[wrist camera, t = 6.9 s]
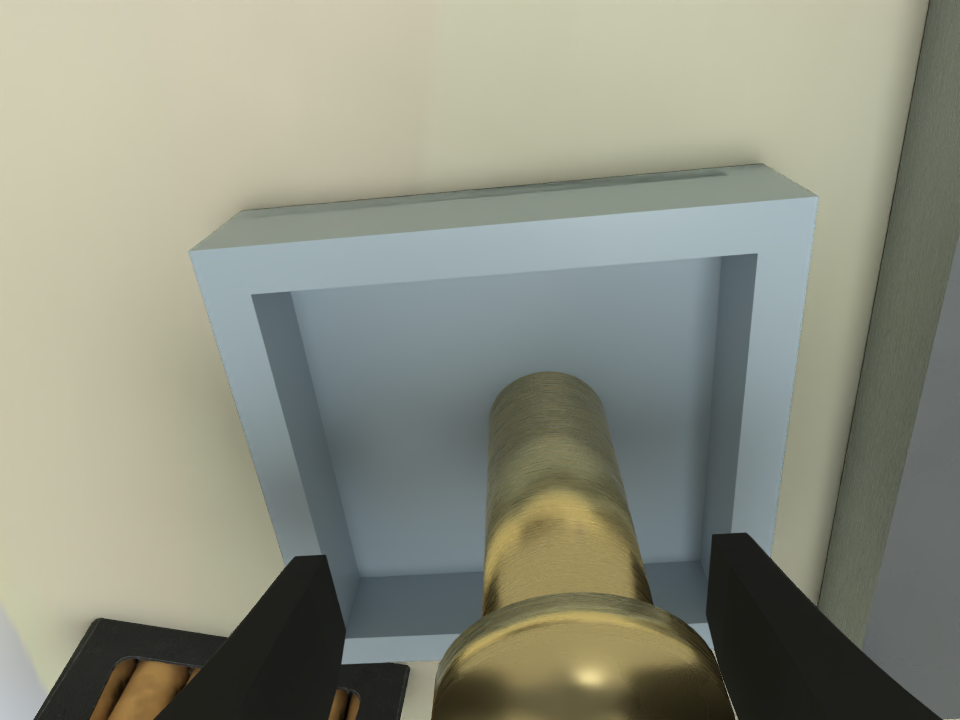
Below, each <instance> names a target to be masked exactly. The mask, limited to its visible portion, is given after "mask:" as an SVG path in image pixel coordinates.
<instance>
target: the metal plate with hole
mask: <svg viewBox="0 0 960 720" xmlns="http://www.w3.org/2000/svg"><path fill="white" fill-rule="evenodd" d="M818 609H819V610H820V611H821V612H822V613H823V614H824V615H825V616H826V617H827V618H828V619H829V620H830V621H831V622H832V623H833V624H834V625H835V626H836V627H837V628H838V629H839V630H840V631H841V632H842V633H843V634H844V635H845V636H847V637H848V638H849V639H850V640H851V641H852V642H853V643H854V644H855V645H856V646H857V647H858V648H859V649H860V650H861V651H863V652H864V653H865V654H866V655H867V656H868V657H869V658H870V659H871V660H872V661H874V662H875V663H876V664H877V665H878V666H879V667H880V668H881V669H882V670H884V671H885V672H886V673H887V674H888V675H889V676H890V677H892V678H893V679H894V680H895V681H896V682H897V683H899V684H900V685H901V686H902V687H903V688H904V689H906V690H907V691H908V692H909V693H910V694H912V695H913V696H914V697H915V698H917V699H918V700H919V701H920V702H921V703H923V704H924V705H925V706H926V707H928V708H929V709H930V710H931V711H933V712H934V713H935V714H936V715H938V716H939V717H940V718H941V719H958V718H960V0H930V5H929V10H928V16H927V21H926V27H925V32H924V37H923V43H922V48H921V54H920V59H919V64H918V70H917V75H916V81H915V86H914V91H913V97H912V102H911V108H910V113H909V118H908V124H907V129H906V135H905V140H904V145H903V151H902V156H901V162H900V167H899V172H898V178H897V183H896V189H895V194H894V199H893V205H892V210H891V216H890V221H889V226H888V232H887V237H886V243H885V248H884V253H883V259H882V264H881V270H880V275H879V281H878V286H877V291H876V297H875V302H874V308H873V313H872V318H871V324H870V329H869V335H868V340H867V345H866V351H865V356H864V362H863V367H862V372H861V378H860V383H859V389H858V394H857V399H856V405H855V410H854V416H853V421H852V426H851V432H850V437H849V443H848V448H847V453H846V459H845V464H844V470H843V475H842V480H841V486H840V491H839V497H838V502H837V507H836V513H835V518H834V524H833V529H832V534H831V540H830V545H829V551H828V556H827V561H826V567H825V572H824V578H823V583H822V588H821V594H820V599H819V605H818Z"/></svg>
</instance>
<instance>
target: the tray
mask: <svg viewBox="0 0 960 720" xmlns="http://www.w3.org/2000/svg"><path fill="white" fill-rule="evenodd" d="M818 199H819V196H817V195H816V194H814V193H812V192H810V191H809V190H807V189H805V188H804V187H802V186H800V185H799V184H797V183H795V182H793V181H792V180H790V179H788V178H787V177H785V176H783V175H781V174H780V173H778V172H776V171H775V170H773V169H771V168H769V167H768V166H766V165H764V164H752V165H741V166H730V167H719V168H708V169H697V170H686V171H675V172H664V173H653V174H642V175H631V176H620V177H609V178H598V179H587V180H576V181H565V182H554V183H543V184H532V185H521V186H510V187H499V188H488V189H477V190H466V191H455V192H444V193H433V194H422V195H411V196H400V197H389V198H378V199H367V200H356V201H345V202H334V203H323V204H312V205H301V206H290V207H279V208H268V209H257V210H246V211H241V212H239V213H238V214H237V215H235V216H234V217H233V218H231V219H230V220H229V221H227V222H226V223H225V224H224V225H222V226H221V227H220V228H218V229H217V230H216V231H214V232H213V233H212V234H210V235H209V236H208V237H206V238H205V239H204V240H203V241H201V242H200V243H199V244H197V245H196V246H195V247H193V248H192V249H191V250H189V255H190V258H191V261H192V264H193V268H194V271H195V274H196V277H197V281H198V284H199V287H200V290H201V294H202V297H203V300H204V303H205V307H206V310H207V313H208V316H209V320H210V323H211V326H212V329H213V333H214V336H215V339H216V342H217V346H218V349H219V352H220V355H221V359H222V362H223V365H224V368H225V372H226V375H227V378H228V381H229V385H230V388H231V391H232V394H233V398H234V401H235V404H236V407H237V411H238V414H239V417H240V420H241V424H242V427H243V430H244V433H245V437H246V440H247V443H248V446H249V450H250V453H251V456H252V459H253V463H254V466H255V469H256V472H257V476H258V479H259V482H260V485H261V489H262V492H263V495H264V498H265V502H266V505H267V508H268V511H269V515H270V518H271V521H272V524H273V528H274V531H275V534H276V537H277V540H278V544H279V547H280V550H281V553H282V557H283V560H284V563H285V566H287V565H288V563H289V562H290V561H291V560H292V559H293V558H294V557H295V556H308V555H326V557H327V560H328V564H329V568H330V572H331V575H332V579H333V583H334V586H335V590H336V594H337V598H338V601H339V605H340V609H341V613H342V616H343V620H344V624H345V627H346V636H345V643H344V650H343V656H342V663H341V664H361V663H386V662H410V661H435V660H442V658H443V656H444V654H445V652H446V651H447V649H448V648H449V647H450V645H451V644H452V643H453V641H454V640H455V639H456V638H457V637H458V636H459V635H460V634H461V633H462V632H463V631H464V630H465V629H467V628H468V627H469V626H471V625H472V624H474V623H475V622H476V621H478V620H479V619H481V618H482V605H483V576H484V548H485V519H486V491H487V463H488V434H489V416H490V411H491V407H492V405H493V403H494V401H495V399H496V398H497V396H498V395H499V394H500V392H501V391H502V390H503V389H504V388H505V387H506V386H508V385H509V384H510V383H512V382H513V381H515V380H517V379H519V378H520V377H523V376H526V375H528V374H532V373H537V372H547V371H552V372H561V373H565V374H569V375H572V376H575V377H577V378H579V379H581V380H582V381H584V382H585V383H587V384H588V385H589V386H590V387H591V388H592V389H593V390H594V391H595V392H596V393H597V395H598V396H599V398H600V399H601V402H602V404H603V407H604V410H605V414H606V418H607V422H608V426H609V430H610V434H611V438H612V442H613V446H614V450H615V454H616V458H617V462H618V466H619V470H620V473H621V477H622V481H623V485H624V489H625V493H626V497H627V501H628V505H629V509H630V513H631V517H632V521H633V525H634V529H635V533H636V537H637V541H638V544H639V548H640V552H641V556H642V560H643V564H644V568H645V572H646V576H647V580H648V584H649V588H650V592H651V596H652V600H653V604H654V606H656V607H659V608H661V609H663V610H666V611H668V612H669V613H671V614H673V615H674V616H676V617H678V618H680V619H681V620H683V621H684V622H685V623H686V624H688V625H689V626H690V627H692V628H693V629H694V630H695V631H696V632H697V633H698V634H699V635H700V636H701V637H702V638H703V639H704V640H705V642H706V643H707V645H708V646H709V648H710V649H714V646H713V642H712V638H711V634H710V630H709V626H708V622H707V618H706V604H707V592H708V579H709V566H710V554H711V541H712V534H725V533H744V532H746V533H748V534H749V535H750V536H751V537H752V538H753V539H754V540H755V541H756V542H757V544H758V545H759V546H760V547H761V548H762V549H763V550H764V551H765V553H766V554H767V555H768V556H769V557H770V558H771V550H772V543H773V535H774V528H775V520H776V513H777V505H778V498H779V490H780V483H781V476H782V468H783V461H784V453H785V446H786V438H787V431H788V423H789V416H790V408H791V401H792V393H793V386H794V378H795V371H796V363H797V356H798V348H799V341H800V333H801V326H802V319H803V311H804V304H805V296H806V289H807V281H808V274H809V266H810V259H811V251H812V244H813V236H814V229H815V221H816V214H817V206H818Z"/></svg>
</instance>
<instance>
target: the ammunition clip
mask: <svg viewBox="0 0 960 720" xmlns="http://www.w3.org/2000/svg"><path fill="white" fill-rule="evenodd" d="M227 639H228V638H227V637H221V636H214V635H208V634H201V633H195V632H188V631H182V630H175V629H169V628H162V627H156V626H149V625H143V624H136V623H130V622H124V621H117V620H111V619H104V618H100V619H98V620H96V621H94V622H92V624H91V625H90V627H89V629H88V630H87V632H86V634H85V635H84V637H83V639H82V640H81V642H80V644H79V645H78V647H77V648H76V650H75V652H74V653H73V655H72V657H71V658H70V660H69V662H68V663H67V665H66V667H65V668H64V670H63V672H62V673H61V675H60V677H59V678H58V680H57V682H56V683H55V685H54V687H53V688H52V690H51V691H50V693H49V695H48V696H47V698H46V700H45V701H44V703H43V705H42V706H41V708H40V710H39V711H38V713H37V715H36V716H35V718H34V720H153V719H154V718H155V717H156V716H157V715H158V714H159V713H160V712H161V711H162V710H163V709H164V708H165V707H166V706H167V705H168V704H169V703H170V702H171V701H172V700H173V699H174V698H175V697H176V696H177V695H178V694H179V692H180V691H181V690H182V689H183V688H184V687H185V686H186V685H187V684H188V683H189V682H190V680H191V679H192V678H193V677H194V676H195V675H196V674H197V673H198V672H199V671H200V669H201V668H202V667H203V666H204V665H205V664H206V663H207V662H208V661H209V660H210V658H211V657H212V656H213V655H214V654H215V653H216V652H217V651H218V649H219V648H220V647H221V646H222V645H223V643H224V642H225V641H226V640H227ZM409 672H410V669H409V667H408V665H402V664H396V663H389V662H386V663H361V664H341V669H340V675H339V681H338V686H337V690H336V694H335V697H334V701H333V705H332V708H331V712H330V716H329V719H328V720H400V717H401V712H402V707H403V702H404V697H405V692H406V687H407V682H408V677H409Z"/></svg>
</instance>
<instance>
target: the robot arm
mask: <svg viewBox="0 0 960 720" xmlns="http://www.w3.org/2000/svg"><path fill="white" fill-rule="evenodd" d="M706 618H707V622H708V626H709V630H710V634H711V638H712V642H713V646H714V650H715V654H716V657H717V661H718V665H719V669H720V672H721V674H722V677H723V680H724V683H725V685H726V688H727V691H728V693H729V696H730V699H731V701H732V704H733V706H734V709H735V712H736V714H737V717H738V720H943V719H941V718H940V717H939V716H938V715H936V714H935V713H934V712H933V711H931V710H930V709H929V708H928V707H926V706H925V705H924V704H923V703H921V702H920V701H919V700H918V699H917V698H915V697H914V696H913V695H912V694H910V693H909V692H908V691H907V690H906V689H904V688H903V687H902V686H901V685H900V684H899V683H897V682H896V681H895V680H894V679H893V678H892V677H890V676H889V675H888V674H887V673H886V672H885V671H884V670H882V669H881V668H880V667H879V666H878V665H877V664H876V663H875V662H874V661H872V660H871V659H870V658H869V657H868V656H867V655H866V654H865V653H864V652H863V651H861V650H860V649H859V648H858V647H857V646H856V645H855V644H854V643H853V642H852V641H851V640H850V639H849V638H848V637H847V636H845V635H844V634H843V633H842V632H841V631H840V630H839V629H838V628H837V627H836V626H835V625H834V624H833V623H832V622H831V621H830V620H829V619H828V618H827V617H826V616H825V615H824V614H823V613H822V612H821V611H820V610H819V609H818V608H817V607H816V606H815V605H814V604H813V603H812V602H811V601H810V600H809V599H808V598H807V597H806V596H805V595H804V594H803V593H802V592H801V590H800V589H799V588H798V587H797V586H796V585H795V584H794V583H793V582H792V581H791V580H790V579H789V578H788V577H787V576H786V575H785V573H784V572H783V571H782V570H781V569H780V568H779V567H778V566H777V565H776V564H775V563H774V561H773V560H772V559H771V558H770V557H769V556H768V555H767V554H766V553H765V551H764V550H763V549H762V548H761V547H760V546H759V545H758V544H757V542H756V541H755V540H754V539H753V538H752V537H751V536H750V535H749V534H748V533H746V532H744V533H725V534H712V541H711V554H710V566H709V579H708V592H707V604H706ZM345 636H346V627H345V624H344V620H343V616H342V613H341V609H340V605H339V601H338V598H337V594H336V590H335V586H334V583H333V579H332V575H331V572H330V568H329V564H328V560H327V557H326V555H308V556H295V557H294V558H293V559H292V560H291V561H290V562H289V563H288V565H287V566H286V567H285V568H284V570H283V571H282V572H281V573H280V575H279V576H278V577H277V578H276V580H275V581H274V582H273V583H272V585H271V586H270V587H269V589H268V590H267V591H266V592H265V594H264V595H263V596H262V597H261V599H260V600H259V601H258V602H257V604H256V605H255V606H254V607H253V609H252V610H251V611H250V612H249V614H248V615H247V616H246V617H245V618H244V620H243V621H242V622H241V623H240V624H239V626H238V627H237V628H236V629H235V630H234V632H233V633H232V634H231V635H230V636H229V638H228V639H227V640H226V641H225V642H224V643H223V645H222V646H221V647H220V648H219V649H218V651H217V652H216V653H215V654H214V655H213V656H212V657H211V658H210V660H209V661H208V662H207V663H206V664H205V665H204V666H203V667H202V668H201V669H200V671H199V672H198V673H197V674H196V675H195V676H194V677H193V678H192V679H191V680H190V682H189V683H188V684H187V685H186V686H185V687H184V688H183V689H182V690H181V691H180V692H179V694H178V695H177V696H176V697H175V698H174V699H173V700H172V701H171V702H170V703H169V704H168V705H167V706H166V707H165V708H164V709H163V710H162V711H161V712H160V713H159V714H158V715H157V716H156V717H155V718H154V719H153V720H328V719H329V716H330V712H331V708H332V705H333V701H334V697H335V694H336V690H337V686H338V681H339V675H340V669H341V663H342V656H343V650H344V643H345Z"/></svg>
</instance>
